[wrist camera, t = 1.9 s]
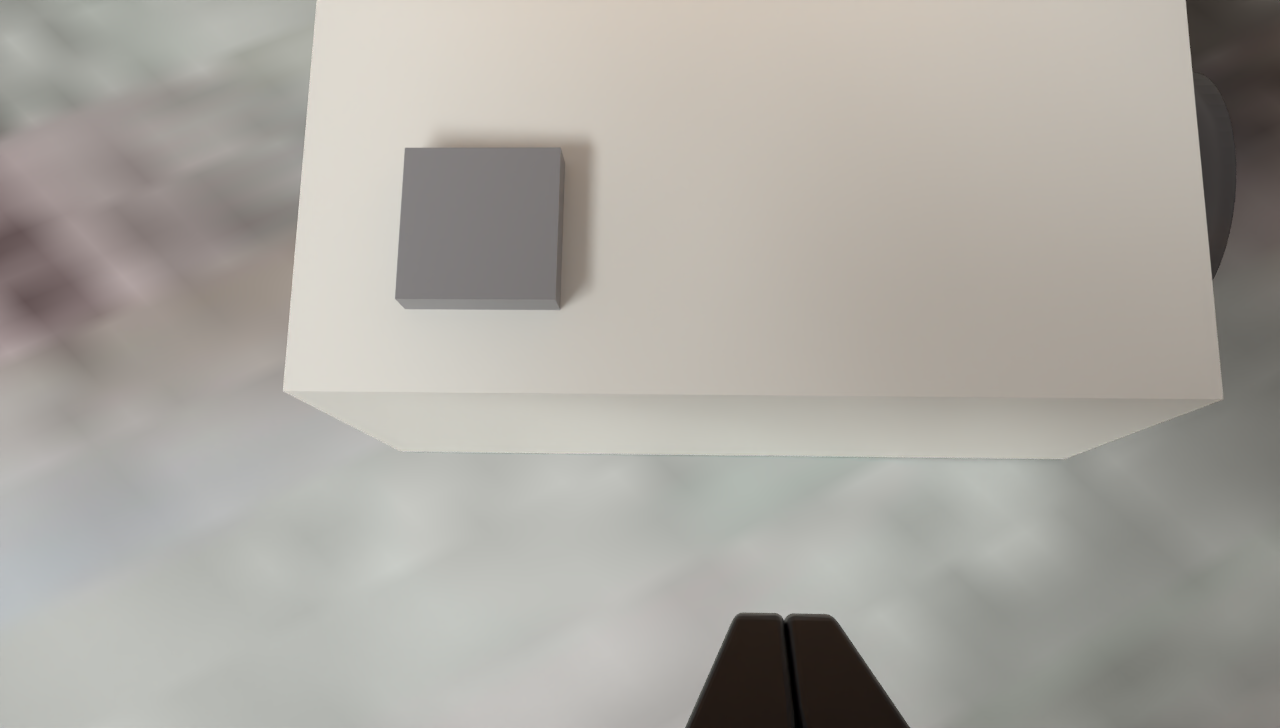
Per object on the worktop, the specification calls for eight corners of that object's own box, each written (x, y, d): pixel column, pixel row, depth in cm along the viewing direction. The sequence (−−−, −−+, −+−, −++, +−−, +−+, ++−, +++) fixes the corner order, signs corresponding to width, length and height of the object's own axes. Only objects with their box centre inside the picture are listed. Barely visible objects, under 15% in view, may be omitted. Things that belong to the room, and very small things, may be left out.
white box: (1122, 459, 23) (1331, 392, 15) (400, 452, 24) (268, 383, 16) (1093, 61, 25) (1265, -169, 17) (425, 65, 25) (316, -155, 18)
